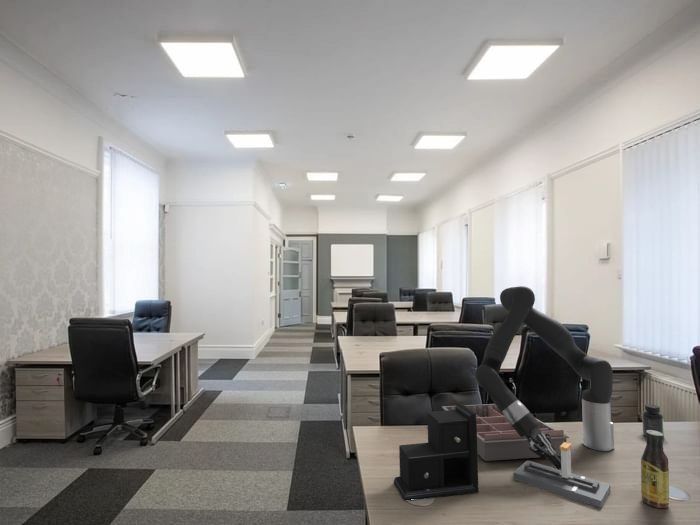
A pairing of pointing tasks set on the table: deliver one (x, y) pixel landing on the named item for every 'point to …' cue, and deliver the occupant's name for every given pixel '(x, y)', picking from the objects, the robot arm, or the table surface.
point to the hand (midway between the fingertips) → (561, 467)
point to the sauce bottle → (655, 471)
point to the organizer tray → (505, 435)
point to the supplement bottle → (652, 419)
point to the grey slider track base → (563, 483)
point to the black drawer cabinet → (441, 457)
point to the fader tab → (566, 461)
